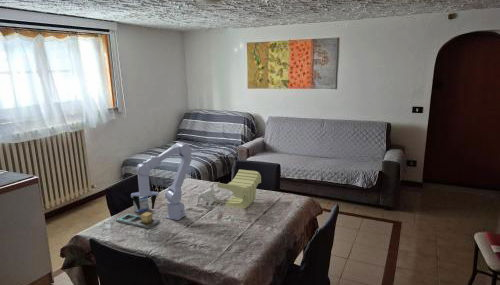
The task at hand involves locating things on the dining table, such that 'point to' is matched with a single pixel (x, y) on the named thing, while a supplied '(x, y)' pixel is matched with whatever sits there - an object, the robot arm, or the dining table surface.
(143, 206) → the medicine box
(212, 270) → the dining table surface
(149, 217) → the mustard tan rectangular block
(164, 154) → the robot arm
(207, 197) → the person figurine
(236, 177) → the slatted curved stool
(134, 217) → the grey grid frame
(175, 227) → the dining table surface
